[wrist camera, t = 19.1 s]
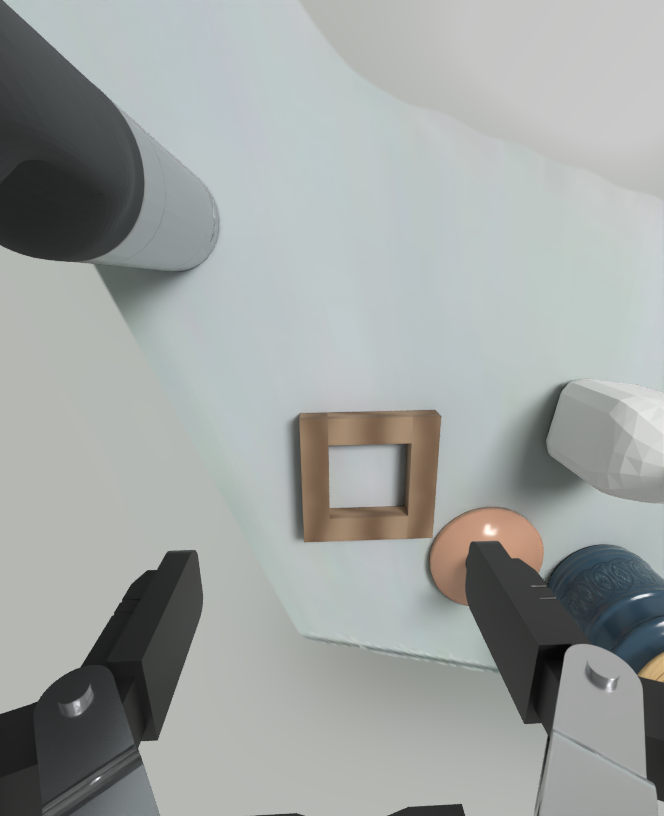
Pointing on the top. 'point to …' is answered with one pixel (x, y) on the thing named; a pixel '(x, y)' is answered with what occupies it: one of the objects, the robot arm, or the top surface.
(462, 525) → the saucer
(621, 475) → the soap bottle
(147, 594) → the robot arm
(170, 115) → the top surface
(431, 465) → the wooden square frame
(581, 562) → the canister
